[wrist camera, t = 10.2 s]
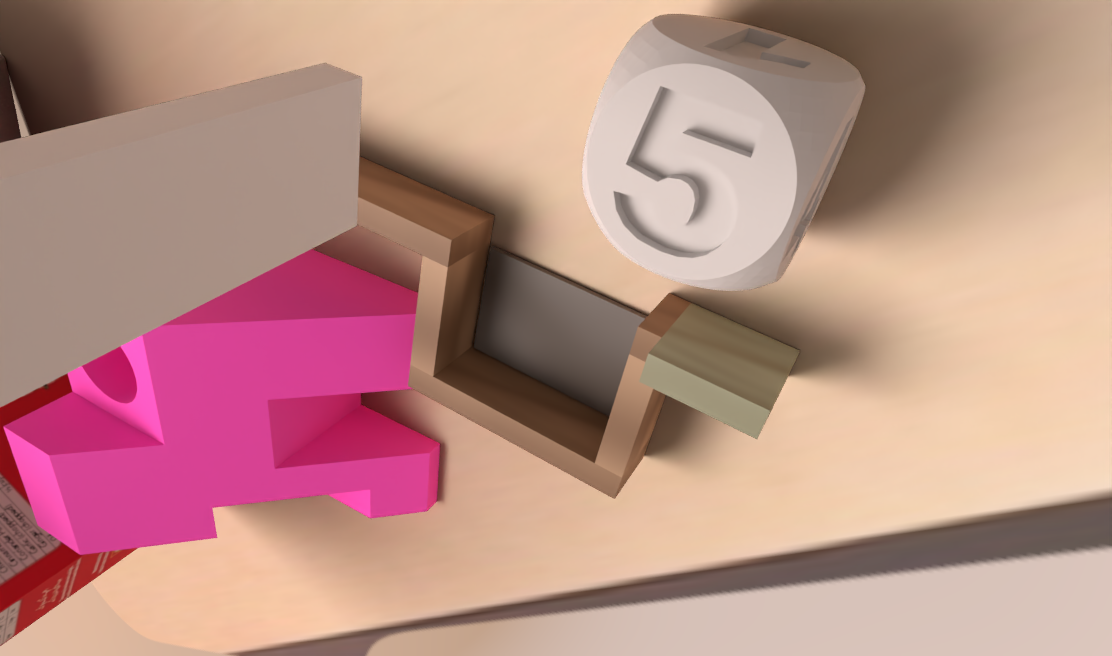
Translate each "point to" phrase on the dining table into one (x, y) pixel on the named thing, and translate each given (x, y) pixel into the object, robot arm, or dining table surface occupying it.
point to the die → (716, 148)
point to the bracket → (233, 414)
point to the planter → (7, 107)
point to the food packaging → (35, 536)
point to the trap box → (559, 343)
